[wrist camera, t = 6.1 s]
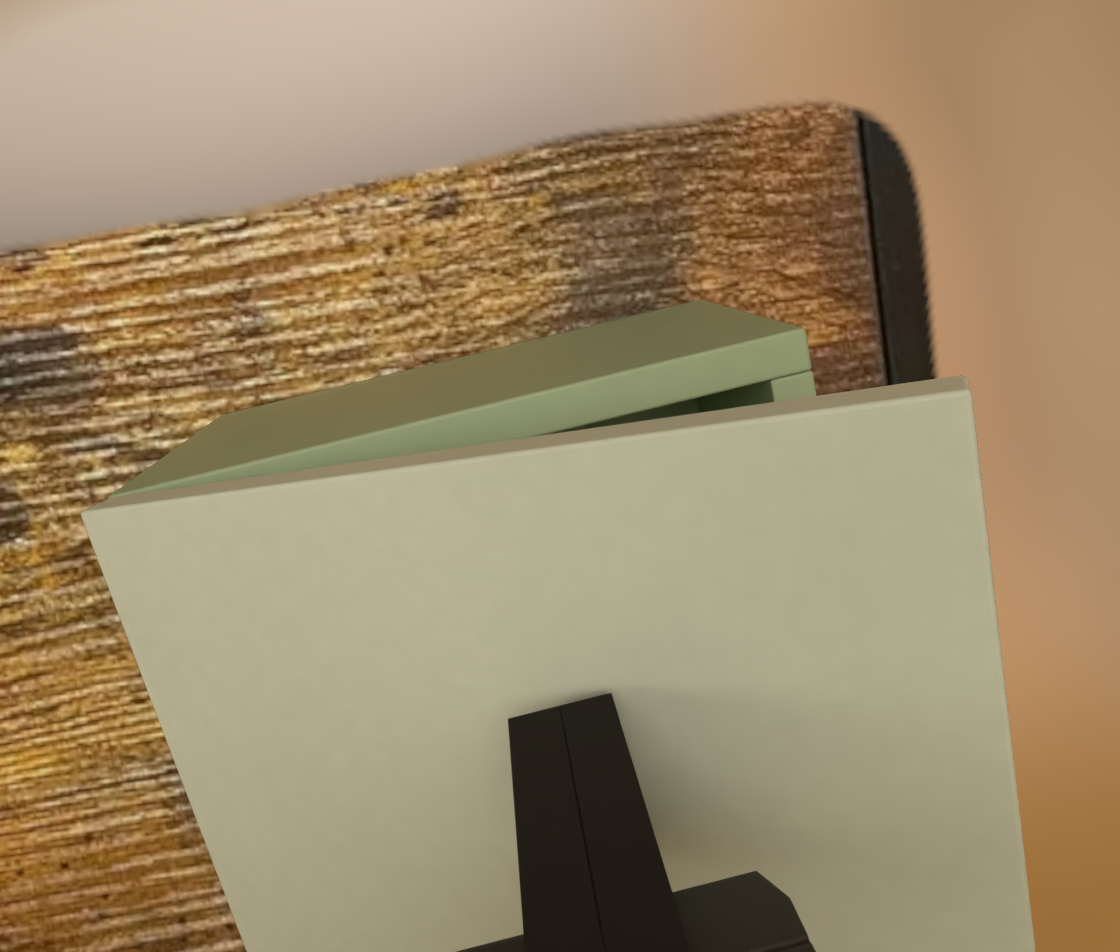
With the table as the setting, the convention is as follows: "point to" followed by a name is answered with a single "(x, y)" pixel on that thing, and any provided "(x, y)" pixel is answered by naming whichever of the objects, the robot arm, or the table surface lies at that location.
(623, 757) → the robot arm
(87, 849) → the table surface
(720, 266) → the table surface
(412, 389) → the hatch box
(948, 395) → the hatch lid
